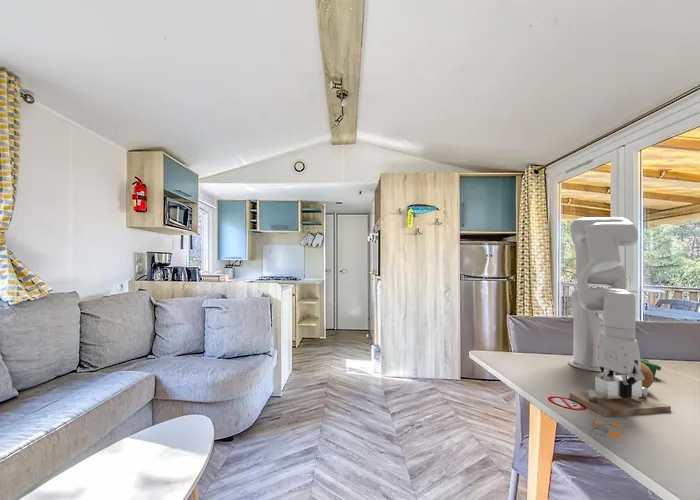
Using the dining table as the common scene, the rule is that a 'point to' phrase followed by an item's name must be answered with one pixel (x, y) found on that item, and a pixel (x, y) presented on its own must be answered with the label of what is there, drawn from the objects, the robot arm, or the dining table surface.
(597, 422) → the key chain
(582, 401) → the peg board
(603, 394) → the silver metal block
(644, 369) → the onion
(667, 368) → the dining table surface
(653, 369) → the clamp
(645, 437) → the dining table surface
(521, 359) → the dining table surface
